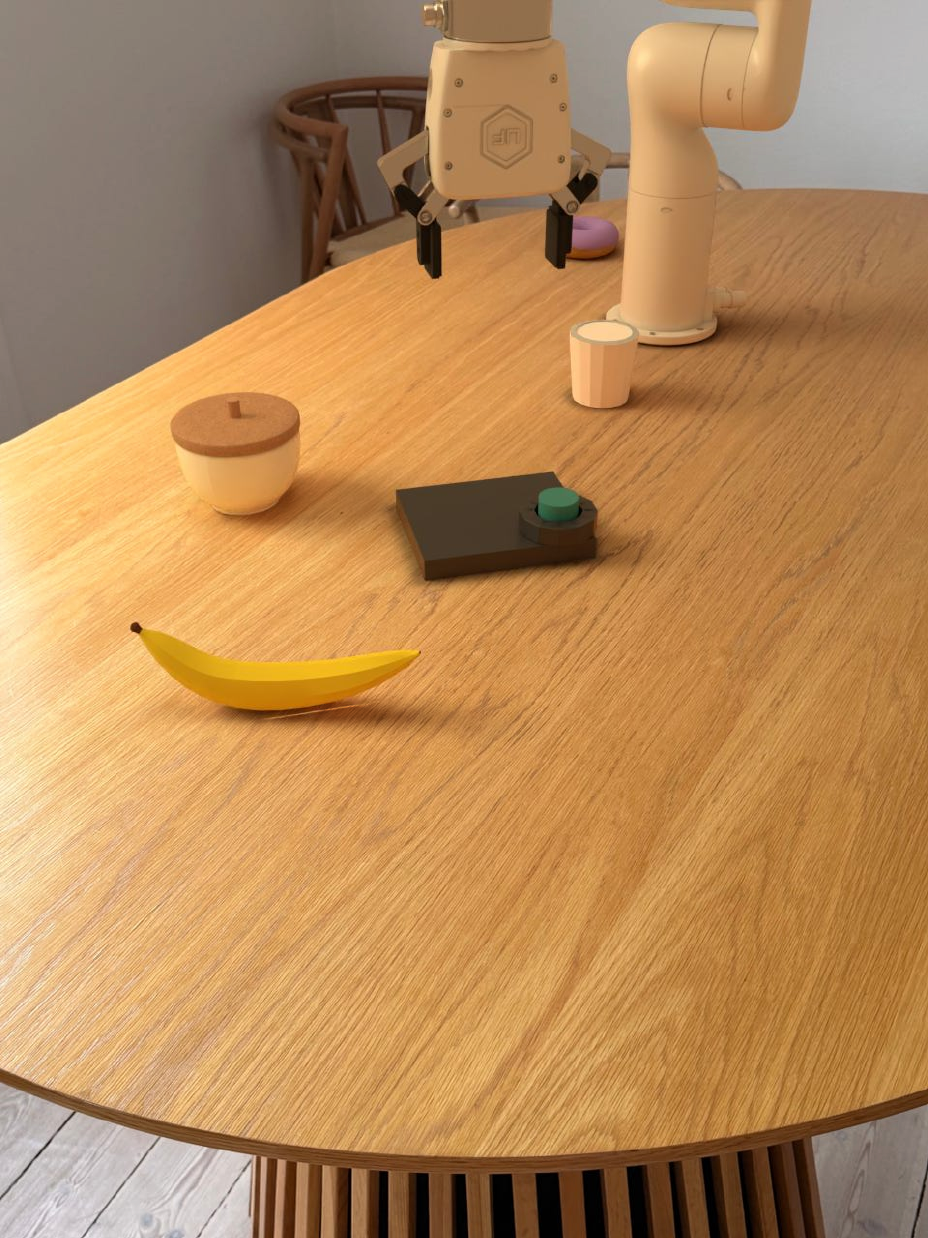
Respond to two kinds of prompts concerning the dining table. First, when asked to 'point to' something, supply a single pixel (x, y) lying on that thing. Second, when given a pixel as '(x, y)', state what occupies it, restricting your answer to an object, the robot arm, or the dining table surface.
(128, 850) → the dining table surface
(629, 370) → the cream tapered cup
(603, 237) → the donut
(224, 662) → the banana
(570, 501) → the button
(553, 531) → the scale
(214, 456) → the cream bowl with lid
